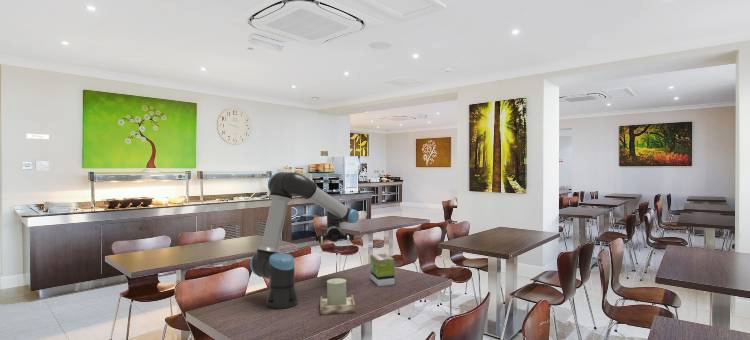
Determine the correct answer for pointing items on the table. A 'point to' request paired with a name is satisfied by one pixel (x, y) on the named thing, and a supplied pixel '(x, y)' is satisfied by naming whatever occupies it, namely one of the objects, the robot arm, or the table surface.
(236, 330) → the table surface
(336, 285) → the can
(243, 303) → the table surface
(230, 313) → the table surface
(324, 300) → the tailgate
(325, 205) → the robot arm
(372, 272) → the tea box
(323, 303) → the tray
